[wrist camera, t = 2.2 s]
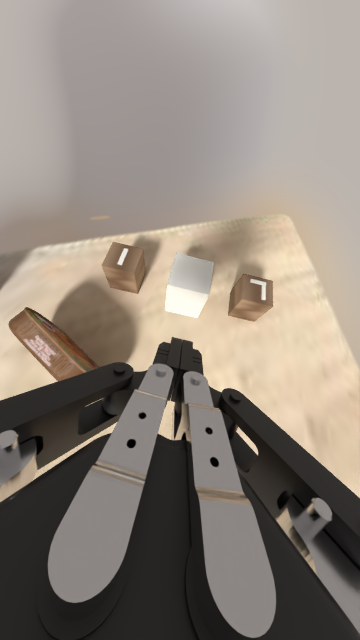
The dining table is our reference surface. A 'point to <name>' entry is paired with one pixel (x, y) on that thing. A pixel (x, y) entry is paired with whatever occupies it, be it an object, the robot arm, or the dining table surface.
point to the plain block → (188, 285)
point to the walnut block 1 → (124, 267)
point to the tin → (50, 345)
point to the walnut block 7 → (251, 298)
